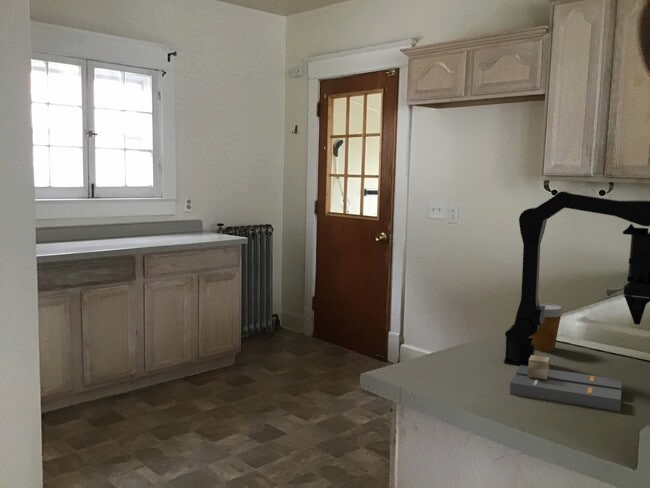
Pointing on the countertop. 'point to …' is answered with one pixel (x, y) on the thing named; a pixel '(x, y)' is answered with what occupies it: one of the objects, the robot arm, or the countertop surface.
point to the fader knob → (538, 367)
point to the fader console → (569, 388)
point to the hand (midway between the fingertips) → (638, 320)
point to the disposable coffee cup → (548, 328)
